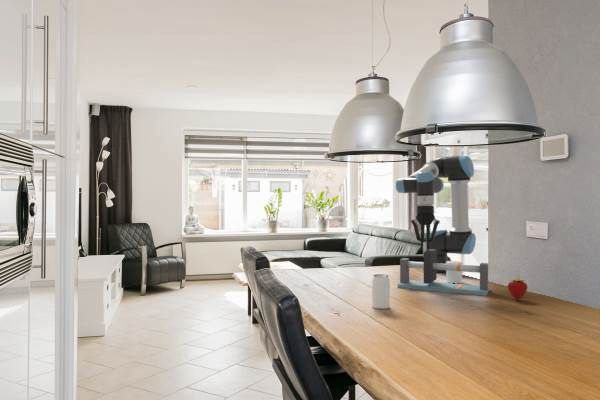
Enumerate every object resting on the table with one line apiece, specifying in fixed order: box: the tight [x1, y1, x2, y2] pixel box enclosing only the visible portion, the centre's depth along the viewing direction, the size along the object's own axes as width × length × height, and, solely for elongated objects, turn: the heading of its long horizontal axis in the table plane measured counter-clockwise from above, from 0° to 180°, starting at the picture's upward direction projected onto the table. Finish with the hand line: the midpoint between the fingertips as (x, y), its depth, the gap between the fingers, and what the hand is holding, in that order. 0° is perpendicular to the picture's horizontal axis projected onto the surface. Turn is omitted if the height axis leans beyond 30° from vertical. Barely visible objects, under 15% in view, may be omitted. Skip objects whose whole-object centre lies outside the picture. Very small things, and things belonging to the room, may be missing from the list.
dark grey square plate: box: [423, 249, 438, 284], centre depth 208 cm, size 3×14×14 cm, turn 152°
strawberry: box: [507, 274, 528, 301], centre depth 182 cm, size 6×8×10 cm
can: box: [371, 273, 391, 310], centre depth 170 cm, size 6×6×12 cm
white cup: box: [445, 260, 464, 284], centre depth 222 cm, size 8×8×10 cm
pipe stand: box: [397, 257, 490, 296], centre depth 206 cm, size 38×14×12 cm, turn 62°
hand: (425, 256), depth 209 cm, fingers closed
